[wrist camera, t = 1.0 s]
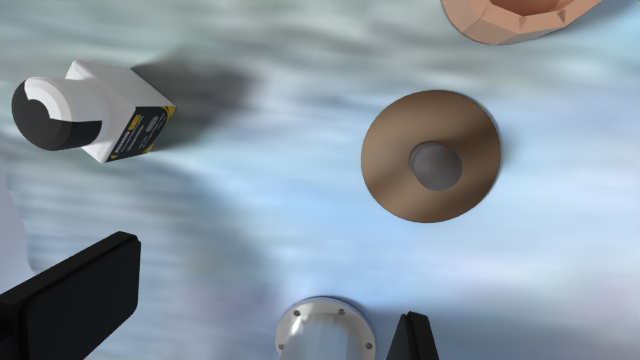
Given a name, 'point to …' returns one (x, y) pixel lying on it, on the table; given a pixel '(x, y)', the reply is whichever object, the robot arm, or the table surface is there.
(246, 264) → the table surface
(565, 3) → the terracotta bowl
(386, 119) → the walnut lid
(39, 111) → the medicine bottle
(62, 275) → the robot arm
